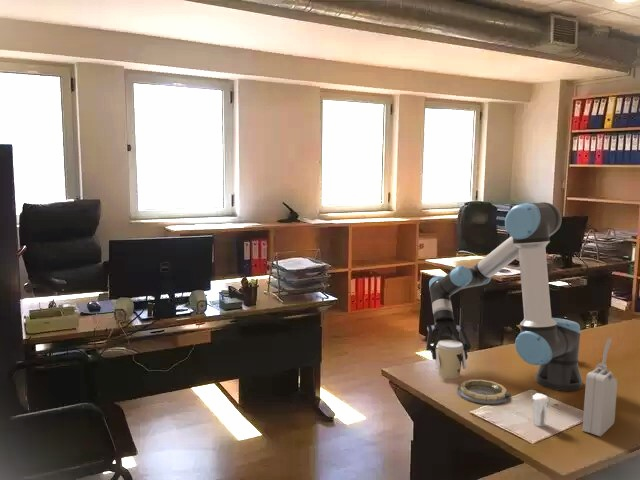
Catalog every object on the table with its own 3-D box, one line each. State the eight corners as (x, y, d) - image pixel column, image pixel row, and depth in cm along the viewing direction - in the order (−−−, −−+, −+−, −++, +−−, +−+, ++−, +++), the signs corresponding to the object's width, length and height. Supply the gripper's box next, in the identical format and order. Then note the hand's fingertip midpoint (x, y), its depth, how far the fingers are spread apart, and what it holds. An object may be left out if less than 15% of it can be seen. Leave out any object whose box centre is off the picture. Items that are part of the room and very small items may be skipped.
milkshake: (525, 421, 165) (527, 389, 164) (542, 420, 165) (544, 388, 164) (532, 428, 160) (534, 395, 159) (550, 427, 161) (552, 395, 159)
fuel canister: (599, 415, 169) (605, 336, 166) (617, 420, 166) (623, 340, 163) (581, 431, 158) (587, 348, 155) (599, 437, 155) (606, 352, 152)
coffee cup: (462, 380, 197) (464, 348, 195) (436, 378, 198) (437, 346, 197) (461, 371, 206) (462, 340, 204) (436, 369, 208) (437, 338, 206)
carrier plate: (512, 389, 189) (512, 383, 188) (506, 408, 173) (507, 401, 173) (462, 381, 196) (462, 375, 195) (452, 399, 180) (453, 392, 180)
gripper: (468, 318, 215) (478, 371, 201) (413, 318, 215) (420, 371, 201) (473, 308, 209) (484, 363, 196) (416, 308, 209) (423, 362, 195)
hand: (451, 367), depth 198 cm, fingers closed on coffee cup, 9 cm apart
